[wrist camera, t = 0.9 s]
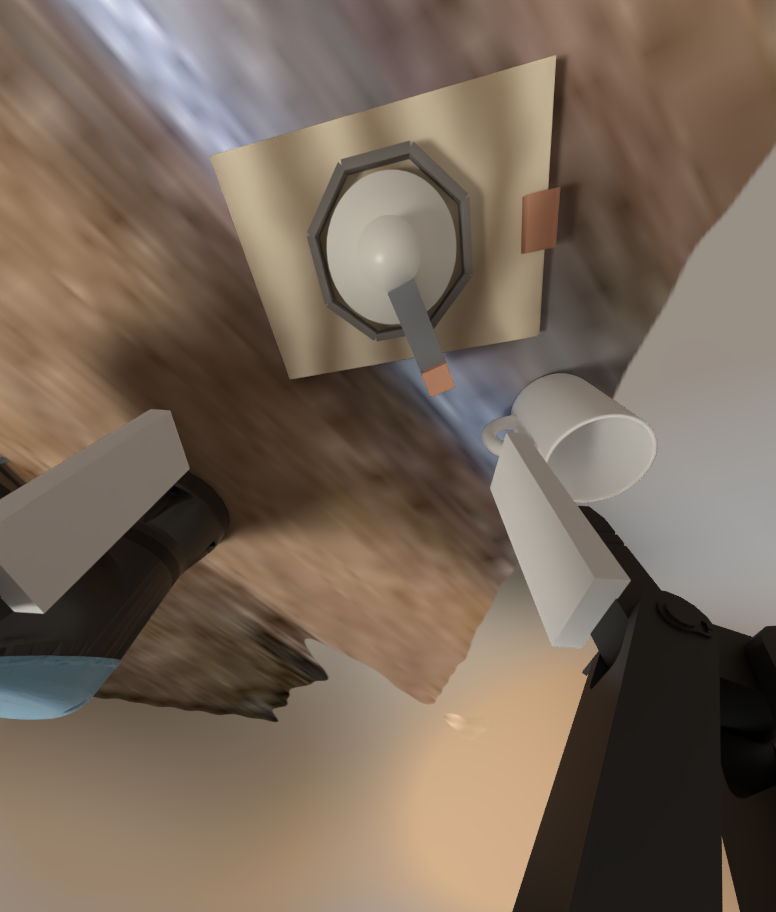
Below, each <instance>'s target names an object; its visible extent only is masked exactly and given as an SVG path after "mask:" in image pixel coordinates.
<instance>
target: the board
mask: <svg viewBox="0 0 776 912" xmlns="http://www.w3.org/2000/svg"><path fill="white" fill-rule="evenodd" d="M555 67H556V55H555V56H551V57H548V58H544V59H541V60H537V61H534V62H531V63H527V64H524V65H520V66H517V67H513V68H510V69H507V70H503V71H500V72H496V73H493V74H489V75H486V76H483V77H479V78H476V79H472V80H469V81H465V82H462V83H459V84H455V85H452V86H448V87H445V88H441V89H438V90H435V91H431V92H428V93H424V94H421V95H417V96H414V97H411V98H407V99H404V100H400V101H397V102H393V103H390V104H387V105H383V106H380V107H376V108H373V109H369V110H366V111H363V112H359V113H356V114H352V115H349V116H345V117H342V118H339V119H335V120H332V121H328V122H325V123H321V124H318V125H314V126H311V127H308V128H304V129H301V130H297V131H294V132H290V133H287V134H284V135H280V136H277V137H273V138H270V139H266V140H263V141H260V142H256V143H253V144H249V145H246V146H242V147H239V148H236V149H232V150H229V151H225V152H222V153H218V154H215V155H212V156H210V158H211V161H212V164H213V167H214V170H215V172H216V175H217V178H218V181H219V184H220V186H221V189H222V192H223V195H224V197H225V200H226V203H227V206H228V209H229V211H230V214H231V217H232V220H233V223H234V225H235V228H236V231H237V234H238V236H239V239H240V242H241V245H242V248H243V250H244V253H245V256H246V259H247V262H248V264H249V267H250V270H251V273H252V275H253V278H254V281H255V284H256V287H257V289H258V292H259V295H260V298H261V301H262V303H263V306H264V309H265V312H266V314H267V317H268V320H269V323H270V326H271V328H272V331H273V334H274V337H275V339H276V342H277V345H278V348H279V351H280V353H281V356H282V359H283V362H284V365H285V367H286V370H287V373H288V376H289V378H290V379H296V378H302V377H307V376H313V375H319V374H324V373H330V372H336V371H341V370H347V369H353V368H359V367H364V366H370V365H376V364H381V363H387V362H393V361H399V360H404V359H410V358H415V357H414V354H413V352H412V350H411V347H410V345H409V343H408V340H407V338H406V336H405V333H404V331H403V329H402V326H401V324H383V323H378V322H374V321H371V320H369V319H367V318H365V317H363V316H361V315H360V314H358V313H357V312H356V311H354V310H353V309H352V308H351V307H350V306H349V305H348V304H347V303H346V302H345V300H344V299H343V298H342V296H341V295H340V293H339V292H338V290H337V288H336V286H335V284H334V282H333V279H332V276H331V273H330V270H329V265H328V260H327V236H328V229H329V225H330V221H331V218H332V216H333V213H334V210H335V208H336V207H337V205H338V203H339V201H340V200H341V198H342V197H343V195H344V194H345V193H346V192H347V191H348V190H349V188H350V187H351V186H352V185H354V184H355V183H356V182H357V181H359V180H360V179H362V178H363V177H365V176H367V175H369V174H372V173H375V172H377V171H382V170H401V171H407V172H409V173H412V174H415V175H417V176H419V177H420V178H422V179H424V180H425V181H426V182H428V183H429V184H430V185H431V186H432V187H433V188H434V189H435V190H436V191H437V192H438V193H439V195H440V196H441V197H442V199H443V200H444V202H445V204H446V206H447V208H448V209H449V212H450V214H451V217H452V220H453V224H454V228H455V234H456V259H455V265H454V269H453V273H452V276H451V279H450V281H449V283H448V285H447V288H446V289H445V291H444V293H443V294H442V296H441V297H440V299H439V300H438V301H437V302H436V303H435V304H434V305H433V306H432V307H431V308H430V309H429V310H428V311H427V314H428V316H429V319H430V321H431V324H432V327H433V329H434V332H435V335H436V337H437V340H438V342H439V345H440V348H441V350H442V353H444V352H450V351H456V350H461V349H467V348H473V347H478V346H484V345H490V344H495V343H501V342H507V341H513V340H518V339H524V338H530V337H535V336H539V331H540V315H541V298H542V282H543V265H544V250H545V249H549V248H554V247H556V239H557V226H558V213H559V199H560V187H557V188H553V189H548V182H549V166H550V149H551V133H552V116H553V100H554V83H555Z"/></svg>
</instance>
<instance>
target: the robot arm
mask: <svg viewBox="0 0 776 912" xmlns="http://www.w3.org/2000/svg"><path fill="white" fill-rule="evenodd" d="M7 462H10V461H9V460H8V459H7V458H5V457H0V718H12V719H50V718H57V717H61V716H65V715H68V714H70V713H72V712H74V711H76V710H78V709H79V708H81V707H82V706H83V705H84V704H86V703H87V702H88V701H89V700H90V699H91V698H92V697H93V695H94V694H95V693H96V692H97V690H98V689H99V688H100V687H101V685H102V684H103V683H104V682H105V680H106V679H107V678H108V677H109V675H110V674H111V673H112V672H113V670H114V669H115V668H117V667H118V666H119V665H120V663H121V659H122V657H123V656H124V655H125V653H126V652H127V650H128V649H129V647H130V646H131V645H132V643H133V642H134V640H135V639H136V638H137V636H138V635H139V633H140V632H141V630H142V629H143V628H144V626H145V625H146V623H147V622H148V620H149V619H150V618H151V616H152V615H153V613H154V612H155V610H156V609H157V608H158V606H159V605H160V603H161V602H162V600H163V599H164V598H165V596H166V595H167V593H168V592H169V590H170V589H171V587H172V586H173V585H174V583H175V582H176V580H177V579H178V578H179V576H180V575H181V574H183V573H184V572H185V571H186V570H188V569H189V568H190V567H192V566H193V565H194V564H195V563H197V562H198V561H199V560H201V559H202V558H203V557H205V556H206V555H207V554H208V553H210V552H211V551H212V550H213V549H214V548H215V547H216V546H217V545H218V544H219V542H220V541H221V539H222V538H223V536H224V535H225V533H226V532H227V529H228V525H229V517H228V513H227V510H226V507H225V505H224V503H223V502H222V500H221V499H220V498H219V496H218V495H217V494H216V493H215V492H214V491H213V490H212V489H211V488H210V487H209V486H208V485H207V484H205V483H204V482H203V481H201V480H200V479H198V478H197V477H195V476H193V475H191V474H190V473H188V472H187V471H188V470H189V469H190V468H189V465H188V462H187V459H186V456H185V453H184V450H183V447H182V444H181V441H180V438H179V435H178V432H177V429H176V426H175V423H174V420H173V417H172V414H171V411H170V410H157V409H150V410H148V411H147V412H145V413H143V414H142V415H140V416H138V417H137V418H135V419H133V420H132V421H130V422H128V423H127V424H125V425H123V426H122V427H120V428H118V429H117V430H115V431H113V432H112V433H110V434H108V435H107V436H105V437H103V438H102V439H100V440H98V441H97V442H95V443H93V444H92V445H90V446H88V447H87V448H85V449H83V450H82V451H80V452H78V453H77V454H75V455H73V456H72V457H70V458H68V459H67V460H65V461H63V462H62V463H60V464H58V465H57V466H55V467H53V468H52V469H50V470H48V471H47V472H45V473H43V474H42V475H40V476H38V477H37V478H35V479H33V480H32V481H30V482H27V481H26V480H25V479H23V478H22V477H21V476H20V475H19V474H18V473H17V472H16V471H15V470H14V469H13V468H11V467H10V466H9V465H8V464H7ZM490 489H491V492H492V494H493V497H494V500H495V502H496V505H497V507H498V510H499V512H500V515H501V517H502V520H503V523H504V525H505V528H506V530H507V533H508V535H509V538H510V541H511V543H512V546H513V548H514V551H515V553H516V556H517V558H518V561H519V564H520V566H521V568H522V571H523V574H524V576H525V578H526V581H527V584H528V586H529V589H530V592H531V594H532V597H533V599H534V602H535V604H536V607H537V610H538V612H539V615H540V617H541V620H542V622H543V625H544V627H545V630H546V633H547V635H548V638H549V640H550V643H551V645H552V646H553V647H568V648H582V647H583V646H584V644H585V643H586V642H587V640H588V639H589V637H590V636H592V638H593V640H594V642H595V644H596V646H597V648H598V650H599V651H598V653H597V654H596V655H595V656H594V658H593V659H592V660H591V661H590V663H589V664H588V665H587V667H586V668H585V669H584V670H583V672H582V673H583V674H585V675H586V676H587V675H588V677H587V680H586V683H585V687H584V690H583V693H582V696H581V699H580V702H579V705H578V708H577V712H576V715H575V718H574V721H573V724H572V727H571V730H570V734H569V736H568V740H567V743H566V746H565V749H564V752H563V755H562V758H561V761H560V765H559V768H558V771H557V774H556V777H555V780H554V784H553V786H552V790H551V793H550V796H549V799H548V802H547V806H546V808H545V811H544V815H543V818H542V821H541V824H540V827H539V830H538V833H537V836H536V840H535V843H534V846H533V849H532V852H531V855H530V858H529V861H528V865H527V868H526V871H525V874H524V877H523V881H522V884H521V887H520V890H519V893H518V896H517V899H516V902H515V905H514V908H513V911H512V912H722V839H723V843H724V847H725V851H726V855H727V859H728V864H729V868H730V872H731V876H732V880H733V884H734V888H735V892H736V897H737V901H738V905H739V909H740V912H776V626H766V627H765V628H763V629H762V630H761V631H760V632H758V633H757V634H756V635H755V636H754V637H751V636H748V635H745V634H741V633H739V632H735V631H732V630H729V629H726V628H723V627H720V626H717V625H714V624H712V623H711V622H710V620H709V619H708V618H707V617H706V616H705V615H704V614H703V613H702V612H701V611H700V610H699V609H697V608H696V607H695V606H694V605H692V604H691V603H689V602H688V601H686V600H684V599H683V598H681V597H679V596H677V595H674V594H671V593H669V592H667V591H661V590H660V588H659V587H658V586H657V584H656V583H655V582H654V581H653V579H652V578H651V577H650V576H649V574H648V573H647V572H646V571H645V569H644V568H643V567H642V565H641V564H640V563H639V562H638V560H637V559H636V558H635V557H634V555H633V554H632V553H631V552H630V550H629V549H628V548H627V547H626V546H624V543H623V541H622V540H621V539H620V537H619V536H618V535H615V531H614V530H613V529H612V527H611V526H610V525H609V524H608V522H607V521H606V520H605V519H604V518H603V517H602V516H600V515H599V514H598V513H597V512H595V511H594V510H593V509H592V508H590V507H589V506H577V504H576V503H575V502H574V500H573V499H572V497H571V496H570V495H569V493H568V492H567V490H566V489H565V488H564V486H563V485H562V484H561V482H560V481H559V479H558V478H557V477H556V475H555V474H554V472H553V471H552V470H551V468H550V467H549V465H548V464H547V463H546V461H545V460H544V458H543V457H542V456H541V454H540V453H539V451H538V450H537V449H536V447H535V446H534V444H533V443H532V442H531V440H530V439H529V438H528V436H527V435H526V434H523V433H508V432H506V435H505V438H504V442H503V445H502V449H501V452H500V456H499V459H498V463H497V466H496V469H495V473H494V476H493V480H492V483H491V487H490ZM721 837H722V839H721Z"/></svg>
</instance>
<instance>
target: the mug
mask: <svg viewBox="0 0 776 912" xmlns="http://www.w3.org/2000/svg"><path fill="white" fill-rule="evenodd" d="M511 429H513V430H514V432H515V433H523V434H526V435H527V436H528V438H529V439H530V440H531V442H532V443H533V444H534V446H535V447H536V449H537V450H538V451H539V453H540V454H541V456H542V457H543V458H544V460H545V461H546V463H547V464H548V465H549V467H550V468H551V470H552V471H553V472H554V474H555V475H556V477H557V478H558V479H559V481H560V482H561V484H562V485H563V486H564V488H565V489H566V490H567V492H568V493H569V495H570V496H571V497H572V499H573V500H574V502H595V501H601V500H604V499H608V498H611V497H613V496H616V495H618V494H620V493H622V492H624V491H625V490H627V489H629V488H630V487H632V486H633V485H634V484H635V483H637V482H638V481H639V480H640V479H641V478H642V477H643V476H644V475H645V474H646V473H647V471H648V470H649V468H650V467H651V465H652V463H653V461H654V459H655V456H656V453H657V439H656V435H655V433H654V431H653V429H652V428H651V427H650V426H649V425H648V424H647V423H646V422H645V421H643V420H642V419H640V418H639V417H637V416H636V415H635V414H633V413H632V412H630V411H629V410H627V409H626V408H625V407H623V406H622V405H620V404H619V403H617V402H616V401H614V400H613V399H611V398H610V397H609V396H607V395H606V394H604V393H603V392H601V391H600V390H598V389H597V388H595V387H594V386H593V385H591V384H590V383H588V382H587V381H585V380H583V379H582V378H580V377H577V376H575V375H571V374H565V373H556V374H550V375H547V376H544V377H541V378H539V379H537V380H535V381H533V382H532V383H530V384H529V385H528V386H527V387H525V388H524V389H523V390H522V391H521V393H520V394H519V395H518V397H517V398H516V400H515V402H514V404H513V407H512V410H511V415H510V416H505V417H501V418H498V419H495V420H493V421H491V422H490V423H488V424H487V425H486V427H485V428H484V430H483V433H482V439H483V443H484V445H485V446H486V447H487V448H488V450H489V451H491V452H492V453H493V454H495V455H497V456H500V452H501V449H502V445H503V441H501V440H500V439H498V438H497V436H496V434H497V433H499V432H501V431H504V430H511Z"/></svg>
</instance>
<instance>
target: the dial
mask: <svg viewBox="0 0 776 912" xmlns="http://www.w3.org/2000/svg"><path fill="white" fill-rule="evenodd" d="M455 259H456V234H455V228H454V224H453V220H452V217H451V214H450V212H449V209H448V208H447V206H446V204H445V202H444V200H443V199H442V197H441V196H440V195H439V193H438V192H437V191H436V190H435V189H434V188H433V187H432V186H431V185H430V184H429V183H428V182H426V181H425V180H424V179H422V178H420V177H419V176H417V175H415V174H412V173H409V172H407V171H401V170H382V171H377V172H375V173H372V174H369V175H367V176H365V177H363V178H362V179H360V180H359V181H357V182H356V183H355V184H354V185H352V186H351V187H350V188H349V190H348V191H347V192H346V193H345V194H344V195H343V197H342V198H341V200H340V201H339V203H338V205H337V207H336V208H335V210H334V213H333V216H332V218H331V221H330V225H329V229H328V236H327V260H328V265H329V270H330V273H331V276H332V279H333V282H334V284H335V286H336V288H337V290H338V292H339V293H340V295H341V296H342V298H343V299H344V300H345V302H346V303H347V304H348V305H349V306H350V307H351V308H352V309H353V310H354V311H356V312H357V313H358V314H360V315H361V316H363V317H365V318H367V319H369V320H371V321H374V322H378V323H383V324H401V326H402V329H403V331H404V333H405V336H406V338H407V340H408V343H409V345H410V347H411V350H412V352H413V354H414V357H415V359H416V361H417V364H418V366H419V368H420V371H421V375H422V377H423V379H424V382H425V384H426V386H427V389H428V391H429V393H430V396H431V397H433V396H435V395H437V394H440V393H442V392H445V391H447V390H449V389H452V388H454V387H455V385H454V382H453V379H452V377H451V374H450V371H449V369H448V366H447V363H446V361H445V358H444V356H443V353H442V350H441V348H440V345H439V342H438V340H437V337H436V335H435V332H434V329H433V327H432V324H431V321H430V319H429V316H428V314H427V311H428V310H429V309H430V308H431V307H432V306H433V305H434V304H435V303H436V302H437V301H438V300H439V299H440V297H441V296H442V294H443V293H444V291H445V289H446V288H447V285H448V283H449V281H450V279H451V276H452V273H453V269H454V265H455Z"/></svg>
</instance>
